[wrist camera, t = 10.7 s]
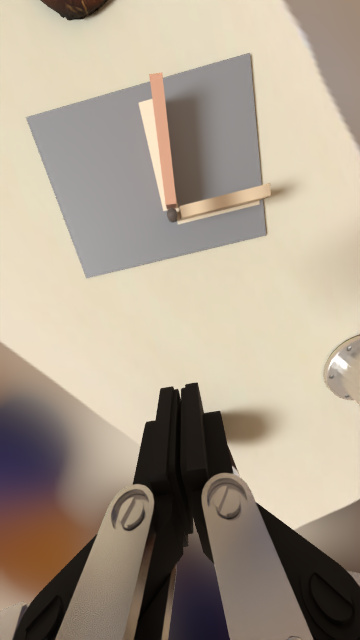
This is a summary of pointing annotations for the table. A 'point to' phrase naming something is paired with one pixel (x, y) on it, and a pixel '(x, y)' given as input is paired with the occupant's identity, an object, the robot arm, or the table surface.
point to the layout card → (154, 167)
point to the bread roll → (74, 7)
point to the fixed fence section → (220, 203)
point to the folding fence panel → (163, 138)
